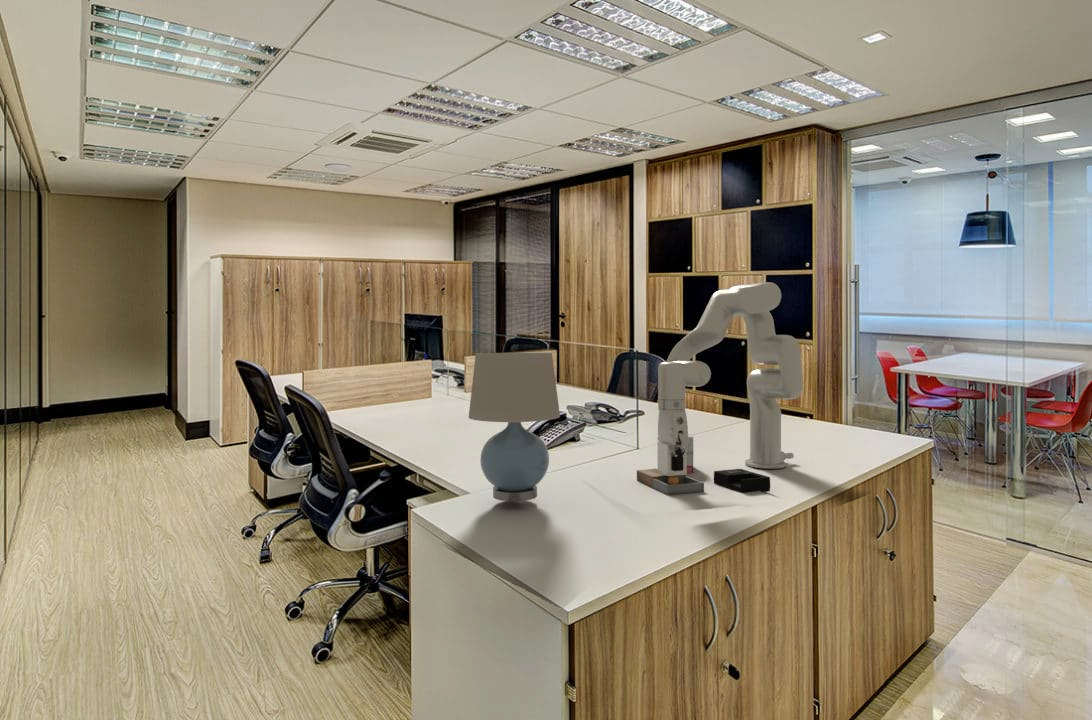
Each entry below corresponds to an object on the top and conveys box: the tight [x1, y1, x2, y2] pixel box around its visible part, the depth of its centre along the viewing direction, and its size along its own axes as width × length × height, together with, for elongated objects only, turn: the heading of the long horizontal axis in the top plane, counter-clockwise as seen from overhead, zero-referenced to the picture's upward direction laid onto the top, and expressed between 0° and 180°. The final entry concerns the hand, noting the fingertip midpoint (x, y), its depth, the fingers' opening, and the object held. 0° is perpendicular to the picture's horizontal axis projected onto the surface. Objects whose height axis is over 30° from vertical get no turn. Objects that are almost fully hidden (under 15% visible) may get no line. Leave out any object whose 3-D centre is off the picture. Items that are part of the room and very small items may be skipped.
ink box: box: [687, 433, 694, 474], centre depth 197 cm, size 9×9×12 cm
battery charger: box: [713, 468, 771, 494], centre depth 175 cm, size 13×10×4 cm
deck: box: [636, 468, 687, 488], centre depth 181 cm, size 11×10×3 cm
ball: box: [668, 476, 679, 485], centre depth 174 cm, size 3×3×3 cm
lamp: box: [468, 352, 561, 502], centre depth 166 cm, size 25×25×39 cm
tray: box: [650, 475, 705, 496], centre depth 172 cm, size 11×10×2 cm
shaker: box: [657, 441, 688, 476], centre depth 175 cm, size 6×6×10 cm
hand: (671, 467), depth 175 cm, fingers closed on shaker, 6 cm apart
